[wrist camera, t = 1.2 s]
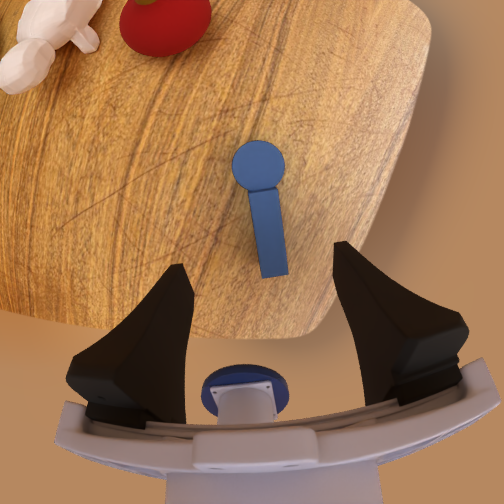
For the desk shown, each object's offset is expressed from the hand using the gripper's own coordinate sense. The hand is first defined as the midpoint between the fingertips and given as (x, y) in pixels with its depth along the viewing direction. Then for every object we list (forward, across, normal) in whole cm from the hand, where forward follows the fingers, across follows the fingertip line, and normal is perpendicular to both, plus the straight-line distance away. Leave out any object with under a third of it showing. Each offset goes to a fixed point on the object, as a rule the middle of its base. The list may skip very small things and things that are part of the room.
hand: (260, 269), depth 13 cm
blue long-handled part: (+11, 0, +2) cm, 11 cm away
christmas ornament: (+15, +5, -14) cm, 21 cm away
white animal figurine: (+16, +16, -19) cm, 30 cm away
